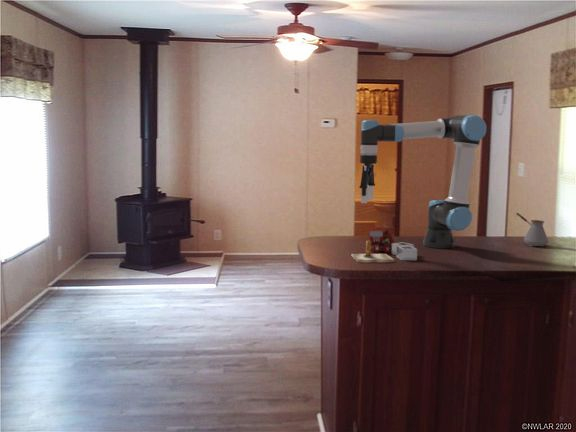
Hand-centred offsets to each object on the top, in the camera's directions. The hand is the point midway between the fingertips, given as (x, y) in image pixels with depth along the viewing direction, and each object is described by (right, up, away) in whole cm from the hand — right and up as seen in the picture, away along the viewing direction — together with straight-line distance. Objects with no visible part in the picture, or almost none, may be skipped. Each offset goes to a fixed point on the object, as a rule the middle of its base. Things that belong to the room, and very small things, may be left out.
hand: (366, 201), depth 271 cm
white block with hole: (+17, -24, +3) cm, 30 cm away
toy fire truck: (+8, -24, +9) cm, 26 cm away
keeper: (+1, -26, -9) cm, 27 cm away
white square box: (+17, -26, -6) cm, 31 cm away
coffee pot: (+89, -21, +38) cm, 99 cm away
